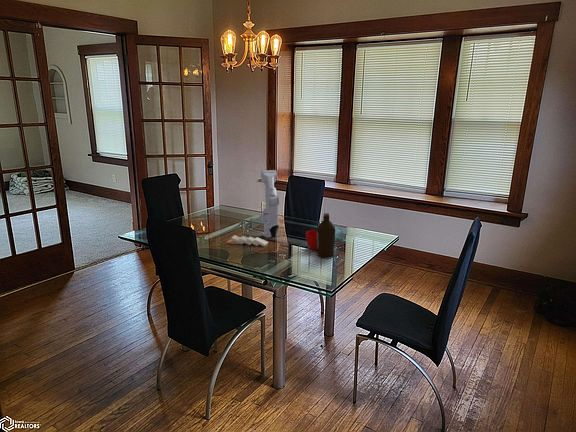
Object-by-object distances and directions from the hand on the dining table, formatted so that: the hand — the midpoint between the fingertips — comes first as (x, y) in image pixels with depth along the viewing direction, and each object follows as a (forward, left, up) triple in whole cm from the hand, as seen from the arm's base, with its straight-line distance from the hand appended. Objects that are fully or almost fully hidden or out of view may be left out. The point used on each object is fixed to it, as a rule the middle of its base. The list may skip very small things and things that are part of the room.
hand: (273, 237), depth 250 cm
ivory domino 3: (+7, -7, -5) cm, 11 cm away
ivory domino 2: (+10, -10, -5) cm, 15 cm away
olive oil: (-19, +28, -6) cm, 35 cm away
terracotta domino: (+16, -16, -6) cm, 23 cm away
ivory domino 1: (+14, -14, -5) cm, 21 cm away
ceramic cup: (-21, +14, -6) cm, 27 cm away
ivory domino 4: (+3, -3, -5) cm, 7 cm away
